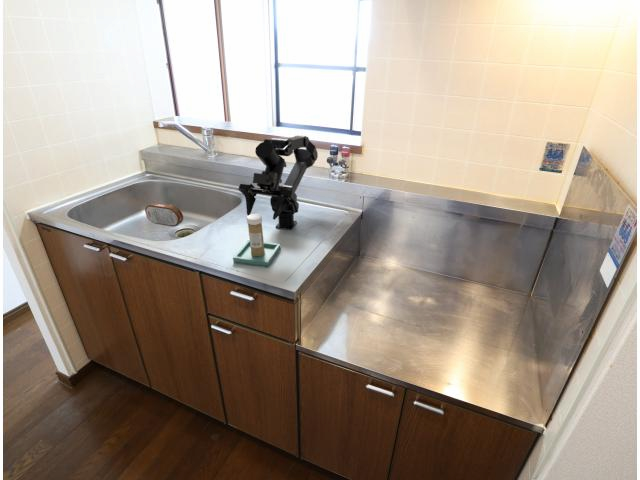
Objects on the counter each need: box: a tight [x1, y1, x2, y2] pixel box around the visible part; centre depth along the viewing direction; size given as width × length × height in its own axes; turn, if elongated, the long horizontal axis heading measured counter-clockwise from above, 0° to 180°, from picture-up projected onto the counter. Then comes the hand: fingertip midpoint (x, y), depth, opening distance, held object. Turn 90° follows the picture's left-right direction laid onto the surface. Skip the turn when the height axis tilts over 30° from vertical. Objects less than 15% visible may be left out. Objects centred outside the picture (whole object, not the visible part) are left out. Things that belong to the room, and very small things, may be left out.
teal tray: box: [232, 239, 281, 268], centre depth 121 cm, size 12×12×2 cm
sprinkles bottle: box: [246, 213, 265, 257], centre depth 118 cm, size 5×5×14 cm
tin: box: [144, 201, 184, 227], centre depth 139 cm, size 15×3×8 cm, turn 73°
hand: (260, 217), depth 119 cm, fingers open, 9 cm apart
